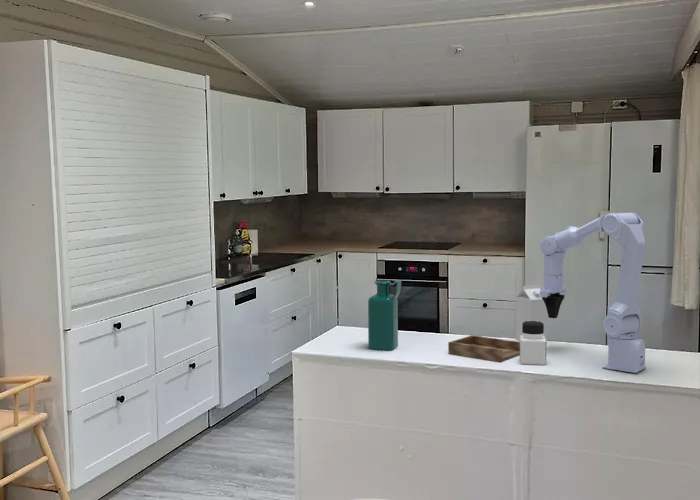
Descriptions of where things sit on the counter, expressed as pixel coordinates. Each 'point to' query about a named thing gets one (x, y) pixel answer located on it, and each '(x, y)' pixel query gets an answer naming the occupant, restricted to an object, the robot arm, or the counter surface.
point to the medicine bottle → (533, 343)
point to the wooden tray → (484, 348)
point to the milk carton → (530, 308)
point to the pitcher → (383, 317)
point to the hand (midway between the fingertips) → (552, 317)
